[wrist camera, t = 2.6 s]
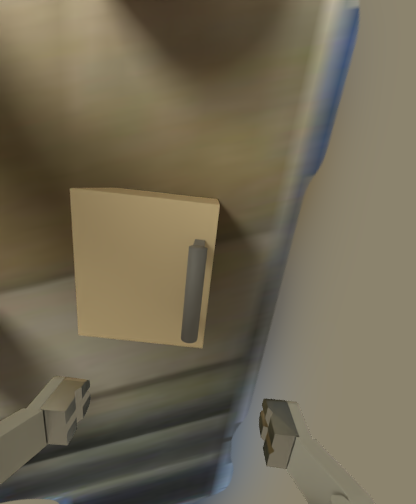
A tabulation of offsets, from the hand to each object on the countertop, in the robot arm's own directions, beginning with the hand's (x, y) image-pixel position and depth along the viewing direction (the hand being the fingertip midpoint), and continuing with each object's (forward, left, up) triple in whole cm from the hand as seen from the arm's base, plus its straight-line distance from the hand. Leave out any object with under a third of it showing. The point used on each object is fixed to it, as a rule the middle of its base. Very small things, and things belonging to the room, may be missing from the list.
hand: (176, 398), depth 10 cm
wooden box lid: (0, -6, -14) cm, 15 cm away
